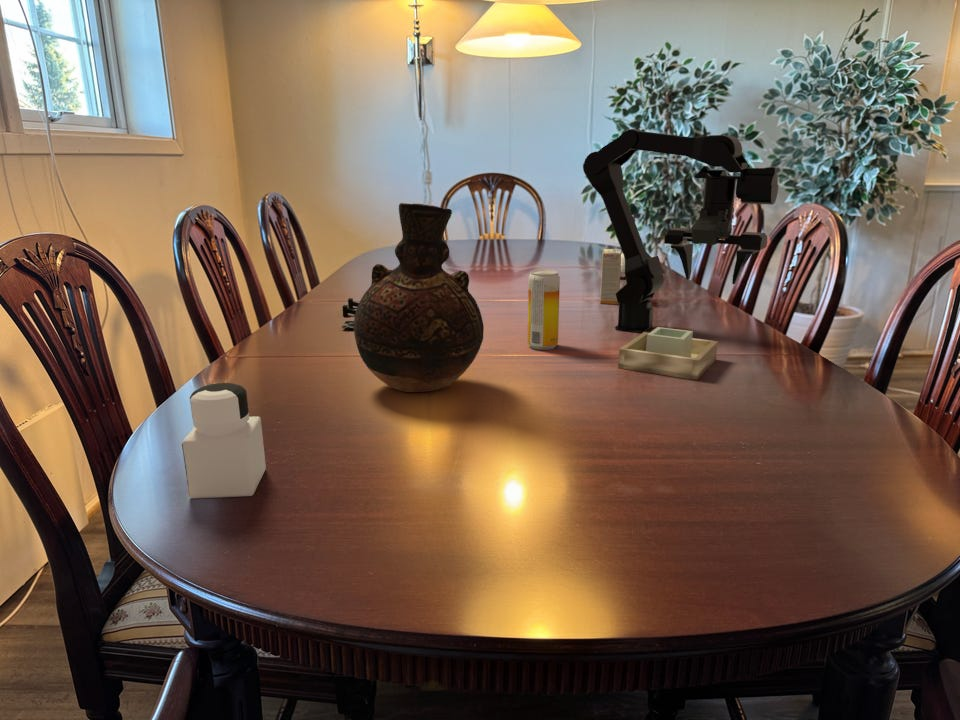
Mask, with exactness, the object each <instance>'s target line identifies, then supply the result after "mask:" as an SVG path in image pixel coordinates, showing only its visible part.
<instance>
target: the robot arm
mask: <svg viewBox="0 0 960 720" xmlns="http://www.w3.org/2000/svg"><path fill="white" fill-rule="evenodd" d="M638 151H645V152H651V153H661V154H666V155H667V154H668V155H674V156H682V157H686V158H690V159H693V160H695V161H697V162H700V163H703V164H706V165H702V168H701V169H700V170H699V171H698V172H697V173H695V174H694V178H695V179H704V188H703V189H704V190H703V198H702V199H703V200H702V207H701V208H700V212H699V217H698V219H697V220H696V221H695V222H694V223H693V224H692V226H691V228H689V227H687V228H686V227H673V228H669V229H668V230H666V231H665V234H664V244H666V245H667V244H668V245H670V248H671V249H674V250H675V251H676V253H677V254H678V256H679V259H680V262H681V264H682V267H683V272H684V276H685V279H686V280H687V281H688V280H691V275H692V265H693V251H694V250H693V249H694V248H693V247H694V245H699V244H703V245H704V244H705V245H708V246H715V245H717V244H721V245H722V244H724V245H737V246H739V247H740V249H738V250H736V261H735V263H734V268H733V274H732V282H731V284H732V285H736V283H737V282H738V280H739V278H740V276H741V273H742V271H743V269H744V268H745V265H746V264H747V262H748V260H749V259H750V258H751V256H752V255H754V254H755V253H758V252H760V251H761V250H763V249H766V248H767V246H768V245H767V244H768V236H767V234H766V233H765V232H755V231H746V232H743V233H741V234H738V235H737V234H736V235H735V234H732V233H733V224H732V222H733V214H734V213H735V212H734V211H735V207H734V203H735V196H736V198H737V199H738V200H739V199H740V202H741V204H744V205H745V204H746V205H769V206H771V205H772V206H773V205H775V203H776V200H777V198H778V194H779V193H778V192H779V183H778V180H779V179H778V178H779V177H778V167H776V166H768V167H767V166H766V167H751V165H750V164H749V162H748V161H747V159H746V157H745V156H744V155H743V146H742V143H741V141H740V140H739V138H737V137H736V136H733V135H725V134H723V135H721V134H716V135H704V136H703V135H701V136H684V135H683V136H682V135H676V134H668V133H659V132H652V131H644V130H641V129H636V128H630V129H629V128H628V129H626V130H625V131H624V132H623V133H621V134H620V135H619V136H618V137H617V138H615V139H613V140H612V141H610V142H608V143H607V144H606V145H604V146H602V148H600V149H599V150H598V151H593V152H591V153H589V154H588V155H587V156H586V157H585V160H584V162H583V163H582V170H583V173H584V175H585V177H586V179H587V180H588V182H589V184H590V185H591V187H592V188H594V190H595V191H596V192H597V193H598V195H599V196H600V197H601V199H602V200H603V204H604V207H605V209H606V212H607V215H608V218H609V220H610V223H611V225H612V228H613V231H614V234H615V236H616V238H617V241H618V244H619V246H620V249H621V253H623V255H624V258H625V274H624V276H625V282H626V284H625V285H623V286H622V287H621V288H619V291H618V292H617V293H616V298H617V301H618V315H617V317H618V319H617V322H618V323H617V325H615V327H614V329H615V330H620V331H629V332H635V333H643V332H647V331H649V329H651V328H652V327H653V323H654V322H653V319H654V308H653V307H652V300H651V299H653V298H654V295H655V293H656V292H658V291H659V290H660V289H661V288H662V286H663V284H664V282H665V281H664V280H665V278H664V274H665V273H666V271H665V270H664V269H663V267H662V265H661V260H660V257H659V256H658V255H656V256H651V255H650V254H649V253H648V252H647V250H646V248H645V246H644V242H643V240H642V238H641V234H640V231H639V230H638V227H637V224H636V220H635V219H634V216H633V214H632V211H631V210H632V209H630V206H629V203H628V200H627V198H626V195H625V191H624V189H623V187H624V186H623V183H624V179H623V178H624V177H623V176H624V175H623V169H622V166H623V165H624V164H626V163H628V161H629V160H630V159H631V158H632V157H633V156H634V154H635V153H636V152H638ZM709 166H712V167H715V168H718V167H720V168H723V169H711V168H710V167H709ZM728 173H739V175H729V174H728ZM690 242H692V243H690Z"/></svg>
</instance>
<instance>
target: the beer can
mask: <svg viewBox="0 0 960 720" xmlns="http://www.w3.org/2000/svg"><path fill="white" fill-rule="evenodd" d="M560 279H561V278H560V275H559V272H558V271H556V270H552V269H536V270H535V269H534V270H531V271H530V274H529V275H528V282H527V284H528V287H527V288H528V290H527V344H528V345H529V347H530V348H531V349H532V350H538V351H549V350H553V349H555V348H556V346H557V345H558V343H559V324H560V323H559V320H560V319H559V318H560V314H559V313H560V285H561V283H560V282H561V280H560Z"/></svg>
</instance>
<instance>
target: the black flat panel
mask: <svg viewBox="0 0 960 720" xmlns="http://www.w3.org/2000/svg"><path fill="white" fill-rule="evenodd" d="M358 304H359V302H357V301H354V299H353V298H352V297H350V298H348V299H347V304H343V305H342V317H343V318H347V317H348V316H349V314H350V315H354V316H355V313H356V310H357V309H354V307H355V308H357V307H358ZM342 328H343V329H347V328H348V329H351V328H352V329H354V320H346V321H344V323H343V325H342V326H341V329H342Z"/></svg>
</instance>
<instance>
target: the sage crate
mask: <svg viewBox="0 0 960 720" xmlns="http://www.w3.org/2000/svg"><path fill="white" fill-rule="evenodd" d="M648 333H649V334H647V343H646V351H647V352H654V353H661V354H668V355H675V356H682V357H689V358H691V348H692V338H694V337H693V335H694V331H693V330H686V329H675V328H670V327H669V328H668V327H661V326H657V327H655V328H654V329H652V330H651V331H650V332H648Z"/></svg>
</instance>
